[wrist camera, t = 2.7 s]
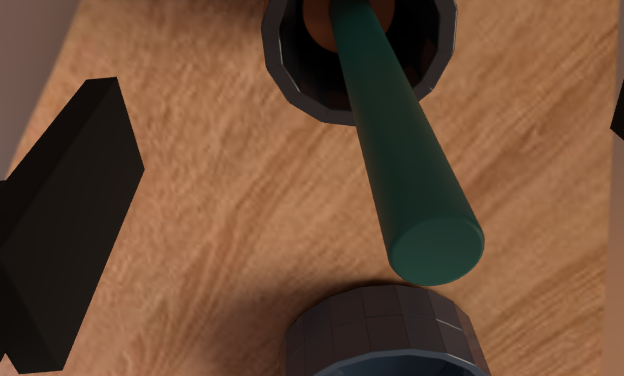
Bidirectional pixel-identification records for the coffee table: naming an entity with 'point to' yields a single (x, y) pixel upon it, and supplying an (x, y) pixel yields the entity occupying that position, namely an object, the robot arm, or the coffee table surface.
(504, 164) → the coffee table surface
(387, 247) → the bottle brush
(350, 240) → the coffee table surface
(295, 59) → the brush pot
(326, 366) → the bowl
